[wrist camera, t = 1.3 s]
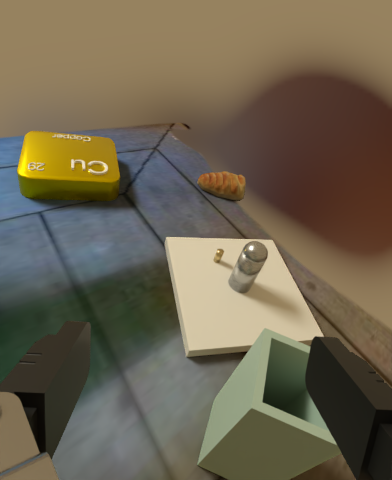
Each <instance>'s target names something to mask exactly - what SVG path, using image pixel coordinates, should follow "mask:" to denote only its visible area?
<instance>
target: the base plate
mask: <svg viewBox="0 0 392 480" xmlns="http://www.w3.org/2000/svg"><path fill="white" fill-rule="evenodd" d="M165 249H166V254H167V259H168V264H169V270H170V275H171V280H172V285H173V290H174V295H175V301H176V306H177V311H178V316H179V321H180V327H181V332H182V337H183V342H184V347H185V353H186V357H193V356H203V355H214V354H225V353H235V352H246V351H249V350H250V348H251V347H252V345H253V344H254V342H255V341H256V340H257V338H258V337H259V335H260V334H261V332H262V331H263V330H264V328H266V329H269V330H271V331H274V332H276V333H279V334H281V335H283V336H286V337H288V338H291V339H293V340H295V341H298V342H300V343H303V344H305V345H308V346H309V345H311V343H312V340H313V338H314V337H315V336H319V337H324V336H323V334H322V332H321V330H320V328H319V326H318V324H317V323H316V321H315V319H314V317H313V315H312V313H311V311H310V310H309V308H308V306H307V304H306V302H305V300H304V298H303V296H302V295H301V293H300V291H299V289H298V287H297V285H296V283H295V282H294V280H293V278H292V276H291V274H290V272H289V270H288V268H287V267H286V265H285V263H284V261H283V259H282V257H281V255H280V254H279V252H278V250H277V248H276V246H275V244H274V242H273V240H254V239H218V238H182V237H166V240H165Z"/></svg>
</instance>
